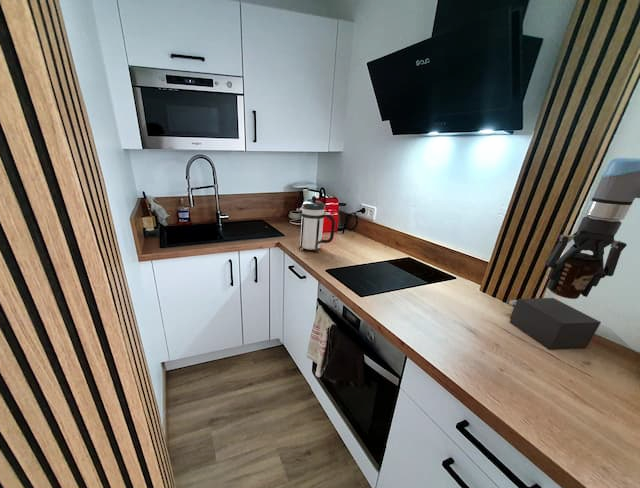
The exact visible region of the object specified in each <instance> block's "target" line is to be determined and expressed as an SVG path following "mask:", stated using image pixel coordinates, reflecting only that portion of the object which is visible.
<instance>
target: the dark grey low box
mask: <svg viewBox="0 0 640 488" xmlns="http://www.w3.org/2000/svg"><path fill="white" fill-rule="evenodd" d="M518 299H519V302H518V304H517V307H516V309H515V311H514V314H513V316H512V318H511V319H510V321H509V323H510V324H511V325H512V326H514V327H515V328H517V329H518V330H520V331H521V332H523V333H524V334H526V335H527V336H529V337H530V338H532V339H533V340H534V341H536V342H537V343H539V344H540V345H542V346H543V347H544V348H546V349H548V350H550V351H552V350H555V351H556V350H577V349H587V348H588V346H589V344H590V342H591V341H592V339H593V337H594V335H595V334H596V332H597V330H598V328H599V327H600V325H601V323H602V322H601V321H600V320H598V319H595V318H593V317H592V316H590V315H588V314H586V313H584V312H582V311H580V310H578V309H576V308H574V307H573V306H570V305H568V304H566V303H564V302H563V301H560V300H558V299H557V298H554V297H535V298H534V297H533V298H530V297H529V298H518Z"/></svg>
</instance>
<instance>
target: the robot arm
mask: <svg viewBox="0 0 640 488" xmlns="http://www.w3.org/2000/svg"><path fill="white" fill-rule="evenodd" d="M636 199H640V158H635V157H616V158H612V159H611V160H610V161H609V162H608V164H607V166H606V168H605V170H604V172H603V173H602V174H601V178H600V180H599V182H598V185H597V187H596V188H595V191H594V194H593V195H592V198H591V200H590V201H589V204H588V205H587V208H586V210H585V212H584V214H585V216H584V217H582V219H581V221H580V223H579V226H578V227H577V230H576V231H575V232H574V233H573V234H569V235H568V234H563V233H562V234H560V235H559V237H558V241H557V244H556V245H555V247H554V249H553V250H552V252H551V253H550V255H549V256H548V258H547V260H546V261H545V262H544V263H545V265H546V266H547V267H548V268H550V271H549V272H548V275H547V278H548V279H549V280H548V284H547V285H546V288H547V289H548V290H549V291H550V292H551V291H553V290H554V288H555V286H556V284H557V282H558V280H559V278H560V275H561V273H562V271H561V270H560V269H561V268H562V267H563V266H564V265H565V260H566V259H568V258H570V257H571V256H575V255H576V254H577V253H580V252H581V253H582V252H583V251H584V252H585V251H587V252H588V251H589V252H592V255H593V257H594V258H597V259H600V260H599V261H601V264H602V266H601V267H599V268H596V273H595V275H594V276H593V278H592V279H591V281H590V282H589V284H588V285H587V287H586V288H585V289H584V290H583V291H582V293H581V294H580V295H582V297H584V298H585V297H586V298H588V296H589V294H590V292H591V290H592V289H593V287H595V288H596V287H597V286H598V285H599V283H600V281H601V279H604V278H606V277H613V276H614V274H615V271H616V269H617V265H618V262H619V260H620V257H621V254H622V251H624V249H625V248H626V247H627V243H626V242H624V241H621V240H615V236H616V235H617V233H618V232H619V230H620V227H621V226H622V220H625V218H626V217H627V214H628V212H629V210H630V208H631V206H632V205H633V203H634V201H635V200H636ZM571 241H573V242H574V243H573V244H572V245H571V246H570V247H569V248H568V249H567V251H566V252H565V249H566V248H567V246H568V244H570V243H571ZM609 246H610V248H609V252H608V255H607V258H606V261H605V262H604V255H605V248H607V247H609ZM564 252H565V253H564ZM562 253H563V254H562Z"/></svg>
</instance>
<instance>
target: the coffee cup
mask: <svg viewBox="0 0 640 488" xmlns="http://www.w3.org/2000/svg"><path fill="white" fill-rule="evenodd" d="M599 260H600V259H597V258H594V257H593V254H589V253H587V252H582V251H581V252H580V253H577V254H576V255H575V256H571V257H570V258H568V259H566V260H565V265H564V266H563V267H562V268H561V269H560V270H561V271H562V273H561V275H560V278H559V280H558V282H557V284H556V286H555V288H554V290H553V291H550V292H551V293H552V294H553V295H555V296H558V297H560V298H565V299H568V300H569V299H571V300H576V299H579V298H580V296H581V295H582V294H581V293H582V291H583V290H584V289H585V288H586V287H587V285H588V284H589V282H590V281H591V279H592V278H593V276H594V275H595V273H596V268H599V267H601V266H602V264H601V261H599Z"/></svg>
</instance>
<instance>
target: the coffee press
mask: <svg viewBox="0 0 640 488" xmlns="http://www.w3.org/2000/svg"><path fill="white" fill-rule="evenodd" d="M325 210H326V206H325V203H324V202H322V201H319V200H317V196H312V197H311V199H310V200H306V201H304V202H303V203H302V204H301V207H300V208H299V211H301V224H300V225H301V227H300V242H299V243H300V244H299V247H298V251H300V252H301V251H303V250H310V251H312V250H313V251H314V253H315V254H318V253H319V249H322V247H323V246H322V244H329V243H331V242H332V241H333V239H334V236H335V228H336V220H335V218H334V216H333V215H331V214H325ZM324 218H326V219H329V220H330V221H331V227H330V236H329V238H328V239H323V230H324Z"/></svg>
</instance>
